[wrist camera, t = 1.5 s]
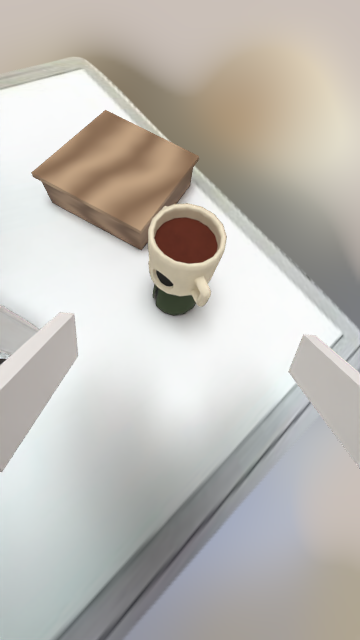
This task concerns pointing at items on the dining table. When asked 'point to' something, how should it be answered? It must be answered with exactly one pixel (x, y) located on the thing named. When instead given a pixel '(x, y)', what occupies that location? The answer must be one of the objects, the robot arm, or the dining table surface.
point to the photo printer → (14, 331)
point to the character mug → (184, 255)
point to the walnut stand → (117, 176)
